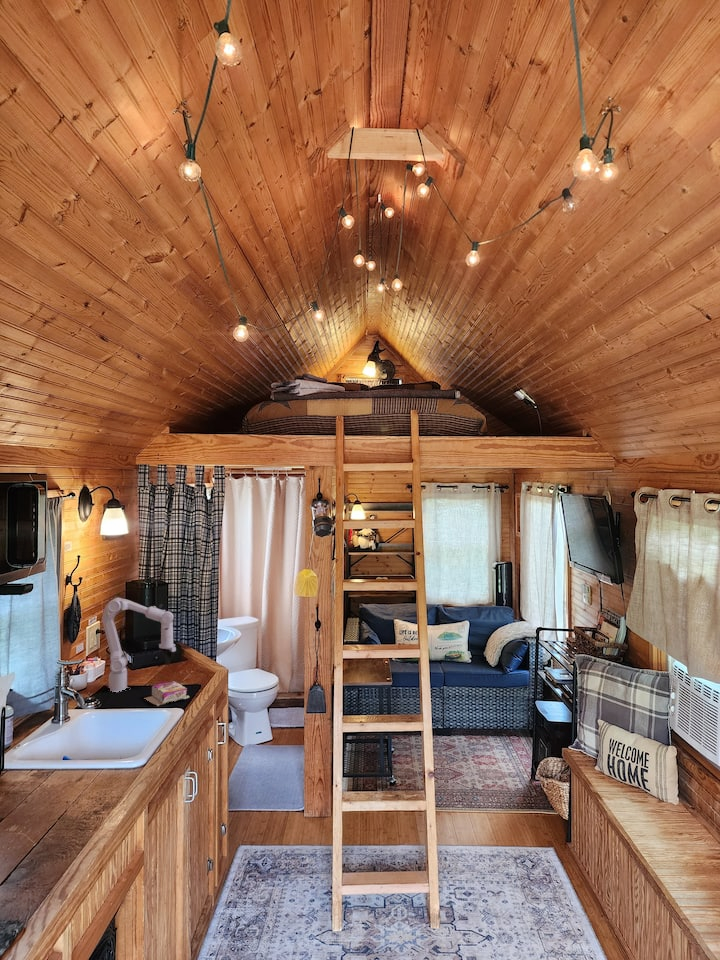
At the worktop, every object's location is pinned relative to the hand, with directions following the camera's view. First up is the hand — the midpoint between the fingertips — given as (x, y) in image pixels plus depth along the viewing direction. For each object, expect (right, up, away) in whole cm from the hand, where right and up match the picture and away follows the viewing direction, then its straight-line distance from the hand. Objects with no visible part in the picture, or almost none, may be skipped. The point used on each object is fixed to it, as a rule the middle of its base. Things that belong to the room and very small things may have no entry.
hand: (167, 664), depth 283 cm
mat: (+7, -9, -22) cm, 24 cm away
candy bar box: (+3, -6, -15) cm, 16 cm away
